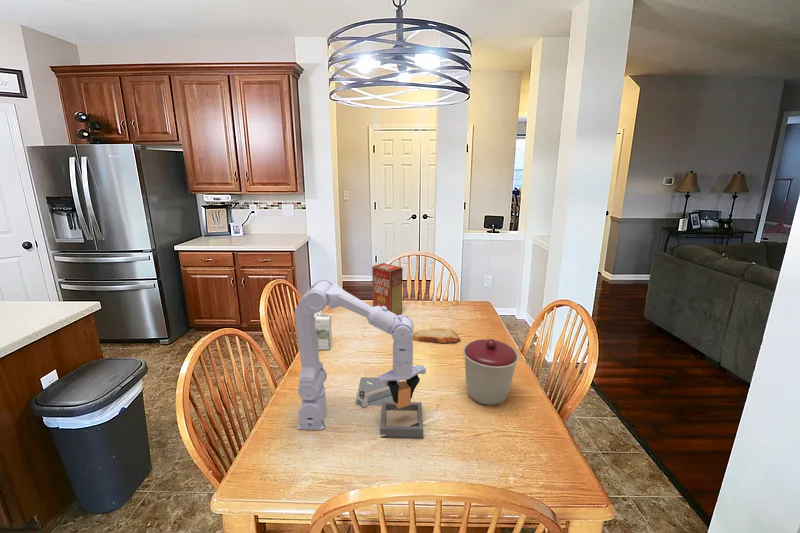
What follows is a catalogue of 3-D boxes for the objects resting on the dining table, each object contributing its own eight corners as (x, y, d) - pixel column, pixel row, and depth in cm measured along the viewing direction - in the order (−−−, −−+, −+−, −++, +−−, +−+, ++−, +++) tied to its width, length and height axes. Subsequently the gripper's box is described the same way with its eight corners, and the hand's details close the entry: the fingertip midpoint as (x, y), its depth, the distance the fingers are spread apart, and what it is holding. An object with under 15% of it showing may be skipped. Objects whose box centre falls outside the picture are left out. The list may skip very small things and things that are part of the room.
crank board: (398, 409, 123) (398, 402, 122) (355, 408, 123) (355, 401, 122) (399, 380, 138) (399, 374, 137) (360, 380, 138) (360, 374, 137)
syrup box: (332, 344, 164) (331, 312, 160) (330, 350, 158) (329, 318, 154) (319, 344, 164) (317, 312, 160) (316, 350, 158) (314, 318, 154)
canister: (493, 376, 141) (498, 324, 135) (525, 405, 125) (532, 347, 119) (450, 386, 135) (453, 332, 129) (478, 418, 119) (483, 358, 113)
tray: (423, 438, 110) (423, 429, 109) (380, 438, 110) (380, 428, 109) (421, 411, 122) (421, 402, 121) (382, 410, 122) (382, 401, 121)
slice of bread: (407, 338, 171) (407, 330, 170) (435, 327, 182) (435, 320, 181) (436, 353, 158) (437, 345, 157) (464, 340, 170) (464, 332, 168)
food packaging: (371, 311, 198) (371, 265, 191) (384, 306, 205) (384, 262, 198) (391, 319, 190) (391, 271, 183) (403, 313, 197) (403, 267, 190)
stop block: (404, 397, 117) (404, 380, 115) (410, 405, 113) (410, 387, 112) (392, 401, 115) (392, 383, 113) (398, 408, 112) (398, 390, 110)
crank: (393, 387, 132) (393, 377, 131) (400, 395, 128) (401, 385, 126) (356, 399, 125) (356, 389, 124) (362, 407, 121) (362, 397, 120)
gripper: (418, 347, 116) (417, 386, 120) (374, 357, 110) (374, 397, 114) (429, 358, 110) (428, 398, 114) (383, 369, 104) (383, 411, 108)
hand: (402, 399), depth 113 cm, fingers closed on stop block, 4 cm apart
